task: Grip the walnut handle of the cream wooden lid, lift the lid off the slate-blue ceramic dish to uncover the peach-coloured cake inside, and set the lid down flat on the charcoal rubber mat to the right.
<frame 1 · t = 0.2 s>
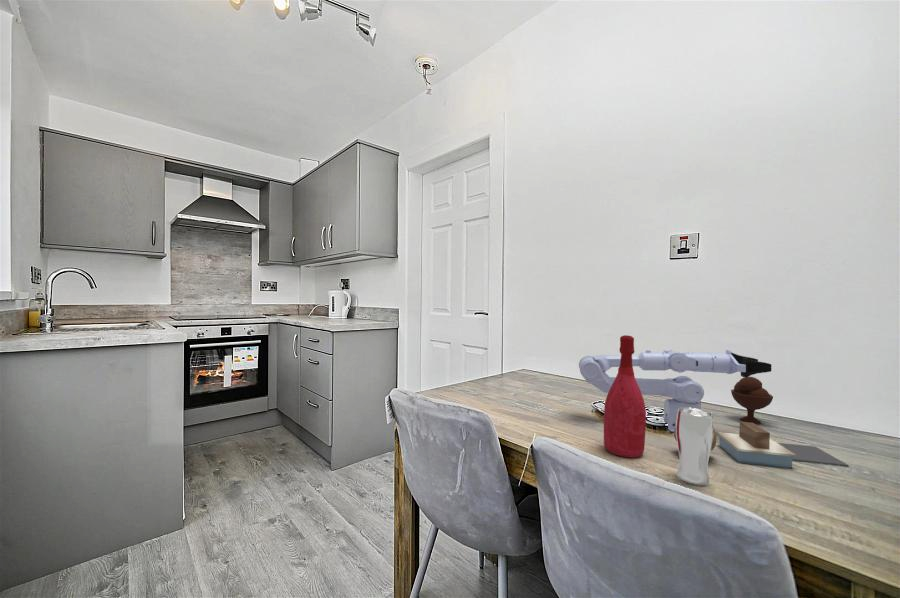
hand: (763, 365, 111), 21 cm above the table, tool horizontal, fingers open, 7 cm apart
beer glass: (692, 480, 85), on the table
wine bottle: (623, 452, 99), on the table
natural sponge: (694, 457, 97), on the table
ice cream bowl: (750, 422, 127), on the table
mat: (798, 453, 101), on the table
dish: (753, 456, 98), on the table
lid: (753, 444, 98), point 3 cm above the table, touching dish
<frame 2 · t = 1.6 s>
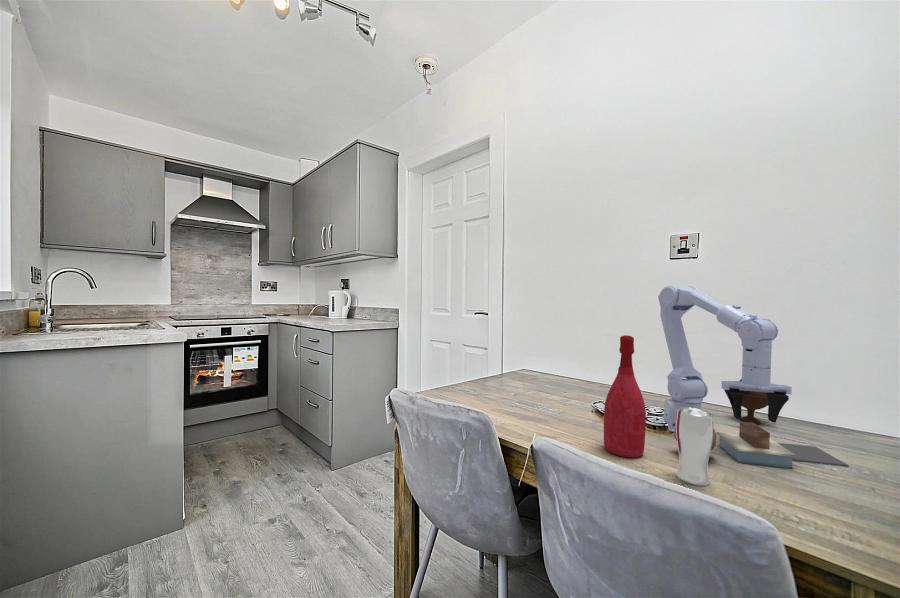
hand: (754, 419, 98), 9 cm above the table, tool pointing down, fingers open, 7 cm apart
nothing on the table moved.
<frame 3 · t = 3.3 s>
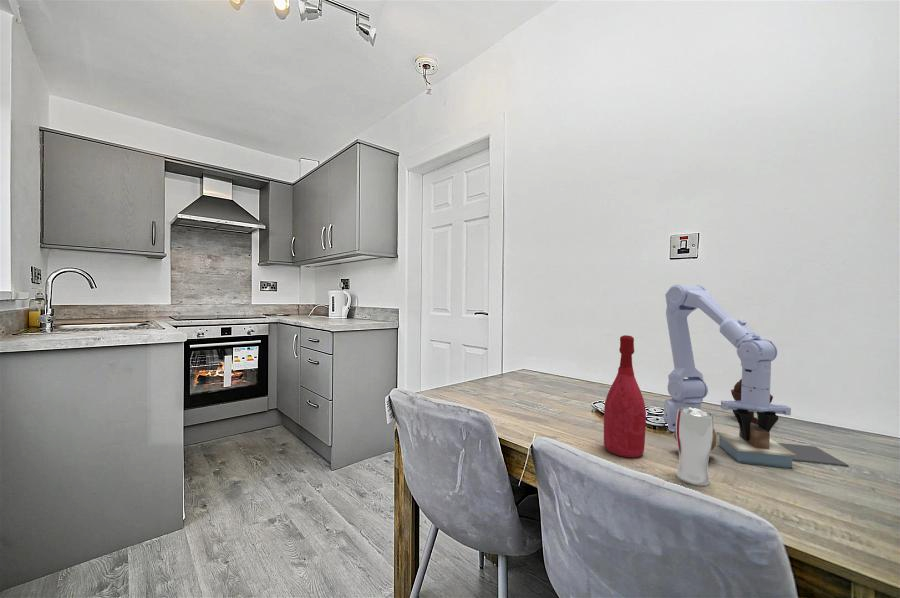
hand: (753, 439, 98), 4 cm above the table, tool pointing down, fingers closed on lid, 3 cm apart
lid: (753, 444, 98), point 3 cm above the table, touching dish, gripper
everything else where it was.
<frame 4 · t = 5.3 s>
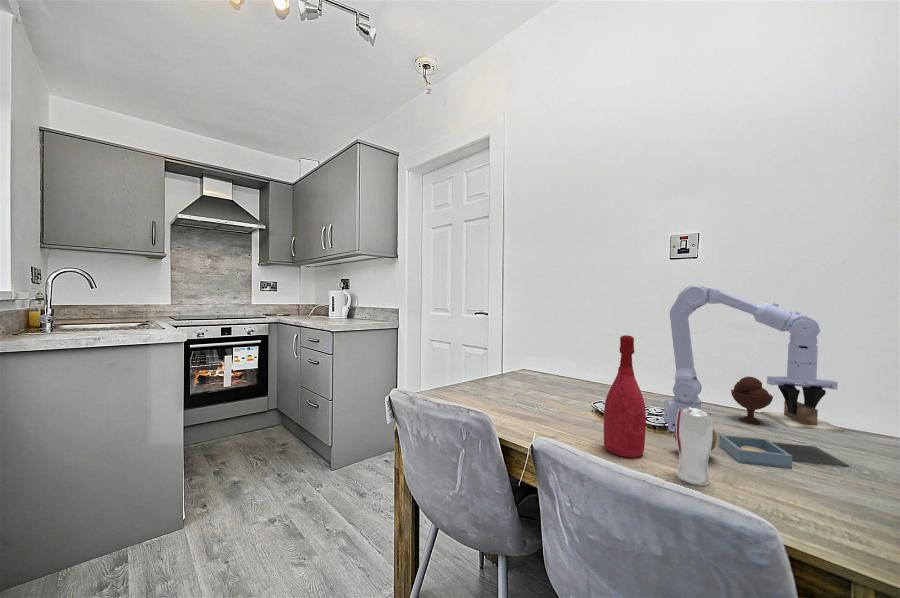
hand: (800, 414, 101), 10 cm above the table, tool pointing down, fingers closed on lid, 3 cm apart
lid: (799, 422, 101), point 8 cm above the table, touching gripper
everything else where it was.
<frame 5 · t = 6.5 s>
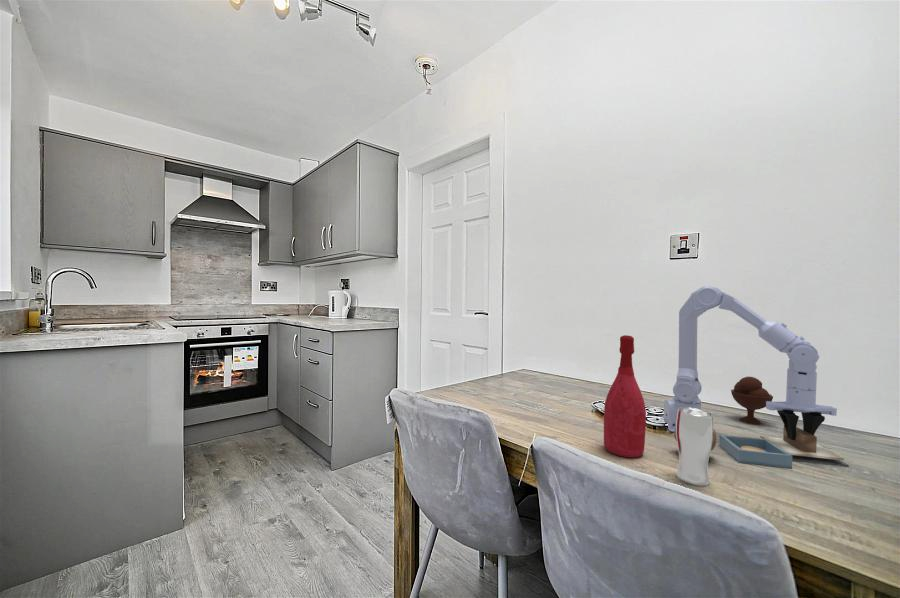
hand: (799, 439, 101), 4 cm above the table, tool pointing down, fingers closed on lid, 3 cm apart
lid: (798, 448, 101), point 1 cm above the table, touching gripper
everything else where it was.
when the fingers open (3 cm above the table, at t = 7.3 s): lid stays where it is, resting on mat.
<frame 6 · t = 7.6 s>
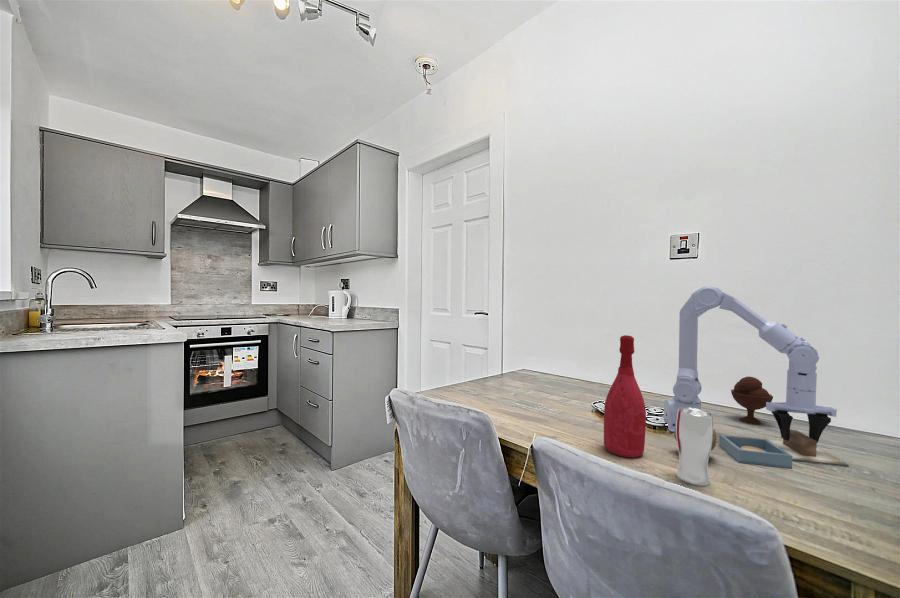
hand: (799, 440, 101), 3 cm above the table, tool pointing down, fingers open, 6 cm apart
lid: (798, 451, 101), resting on mat
everything else where it was.
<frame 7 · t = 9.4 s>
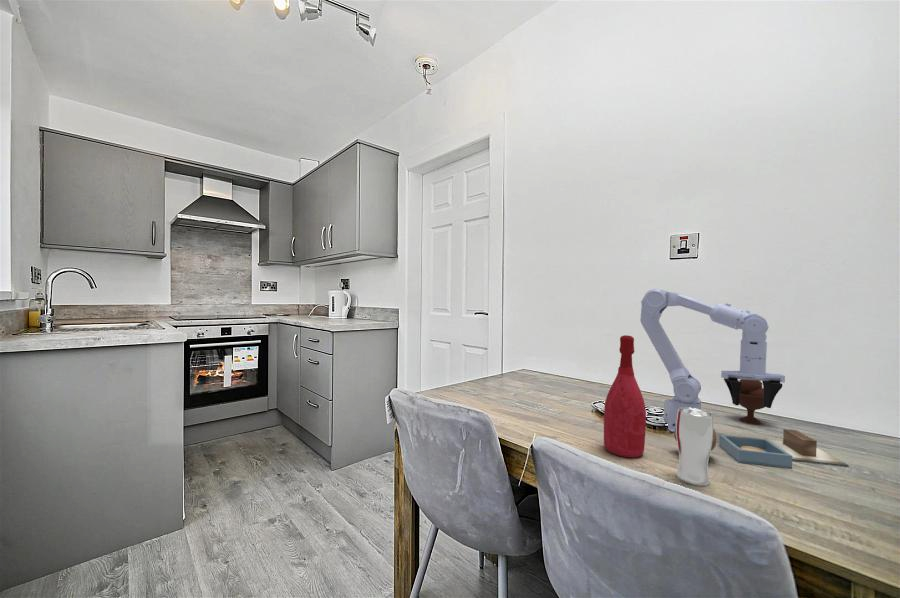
hand: (751, 405, 108), 10 cm above the table, tool pointing down, fingers open, 7 cm apart
nothing on the table moved.
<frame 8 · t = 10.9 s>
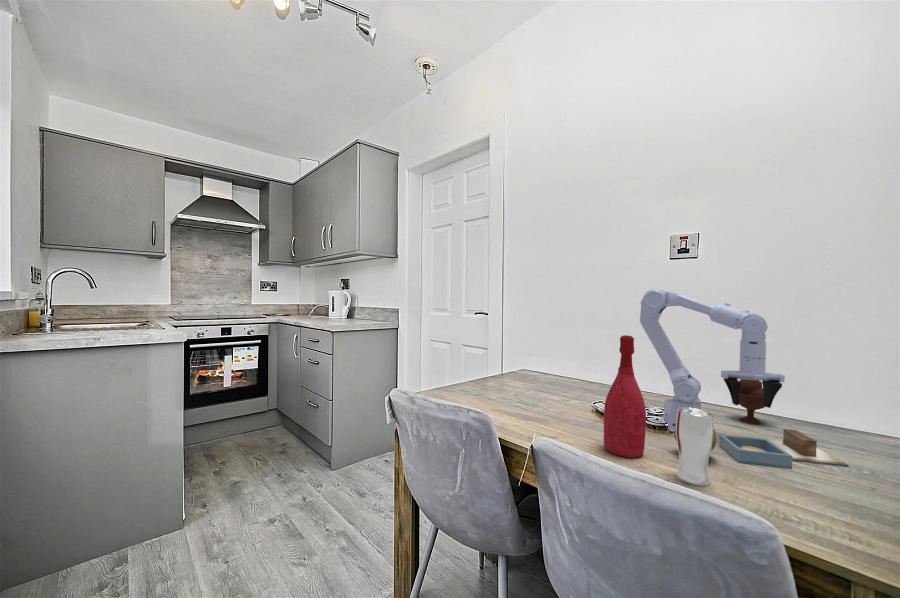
hand: (751, 405, 108), 10 cm above the table, tool pointing down, fingers open, 7 cm apart
nothing on the table moved.
at the end: lid inside the target area on the mat (0.0 cm from its centre), point 0.4 cm above the mat's base; lid tilted 0°; lid touching mat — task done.
